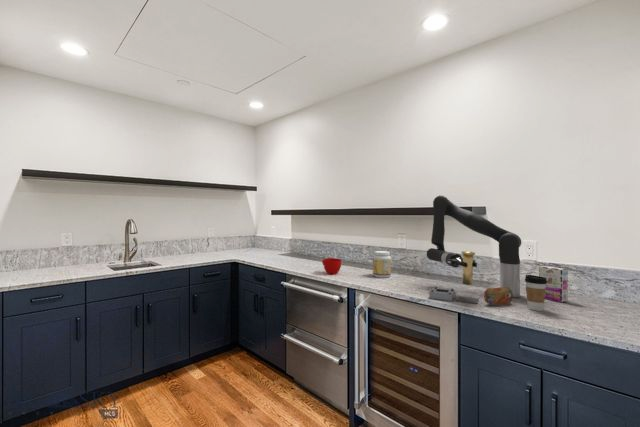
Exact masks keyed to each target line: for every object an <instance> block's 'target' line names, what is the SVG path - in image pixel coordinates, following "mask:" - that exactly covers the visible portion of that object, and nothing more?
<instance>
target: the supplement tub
mask: <svg viewBox="0 0 640 427" xmlns="http://www.w3.org/2000/svg"><path fill="white" fill-rule="evenodd" d="M390 253H391V252H390V251H387V250H376V251H374V252H373V254H374V255H373V256H372V276H373V277H375V278H379V279H380V278H381V279H382V278H383V279H385V278H390V277H391V274H392V271H391V270H392V267H391V266H392V258H391V256H390V255H391V254H390Z"/></svg>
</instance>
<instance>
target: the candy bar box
mask: <svg viewBox="0 0 640 427" xmlns="http://www.w3.org/2000/svg"><path fill="white" fill-rule="evenodd" d="M538 271H539V274H538V276H540V277H544V278H546V280H547V284H546V293H545V299H546V300H549V301H554V302H558V303H567V302H568V277H569V276H568V273H569V272H568V268H562V267H555V266H547V265H541V266H540V265H539V268H538Z"/></svg>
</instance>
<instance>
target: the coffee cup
mask: <svg viewBox="0 0 640 427" xmlns="http://www.w3.org/2000/svg"><path fill="white" fill-rule="evenodd" d="M524 282H525V293H526V302H527V304H526V305H527V309H529V310H532V311H537V312H538V311H539V312H543V311H544V306H545V293H546V284H547V280H546V278H544V277H540V276H539V275H534V274H533V275H532V274H526V275H525V278H524Z"/></svg>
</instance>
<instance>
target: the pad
mask: <svg viewBox="0 0 640 427" xmlns="http://www.w3.org/2000/svg"><path fill="white" fill-rule="evenodd" d="M479 300H480V299H479V297H471V296H463V295H459V296H458V297H457V300H456V302H459V301H460V302H461V303H467V304H475V305H478V303H479ZM460 302H459V303H460Z"/></svg>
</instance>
